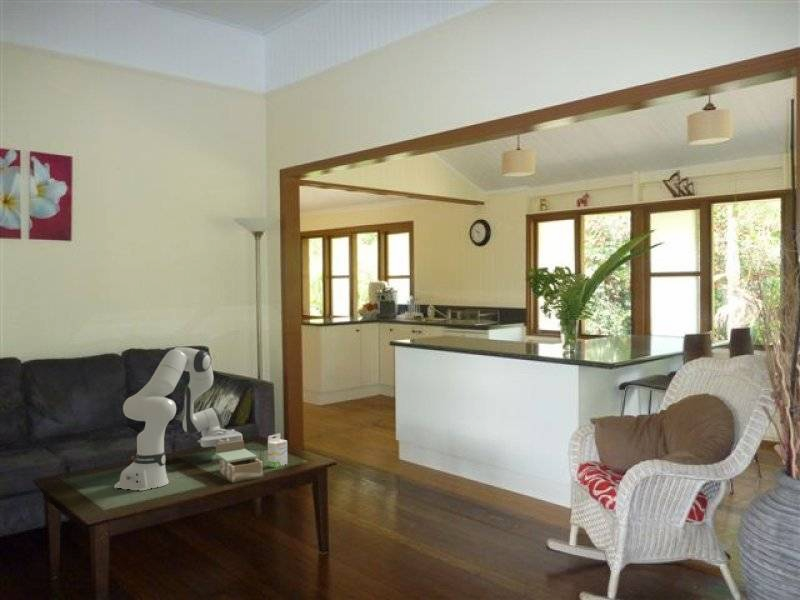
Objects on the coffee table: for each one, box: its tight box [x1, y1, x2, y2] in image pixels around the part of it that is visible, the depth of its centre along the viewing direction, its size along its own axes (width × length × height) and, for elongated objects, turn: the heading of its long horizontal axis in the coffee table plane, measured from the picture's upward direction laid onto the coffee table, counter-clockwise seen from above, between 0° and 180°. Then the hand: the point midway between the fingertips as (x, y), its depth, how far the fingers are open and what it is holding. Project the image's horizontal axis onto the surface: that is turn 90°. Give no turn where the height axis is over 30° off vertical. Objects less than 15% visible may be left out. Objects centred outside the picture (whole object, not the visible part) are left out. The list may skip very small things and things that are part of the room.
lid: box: [214, 439, 258, 463], centre depth 305 cm, size 18×14×5 cm
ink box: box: [267, 432, 288, 469], centre depth 315 cm, size 9×5×15 cm, turn 143°
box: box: [219, 457, 264, 484], centre depth 300 cm, size 18×14×7 cm
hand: (226, 442), depth 317 cm, fingers closed
